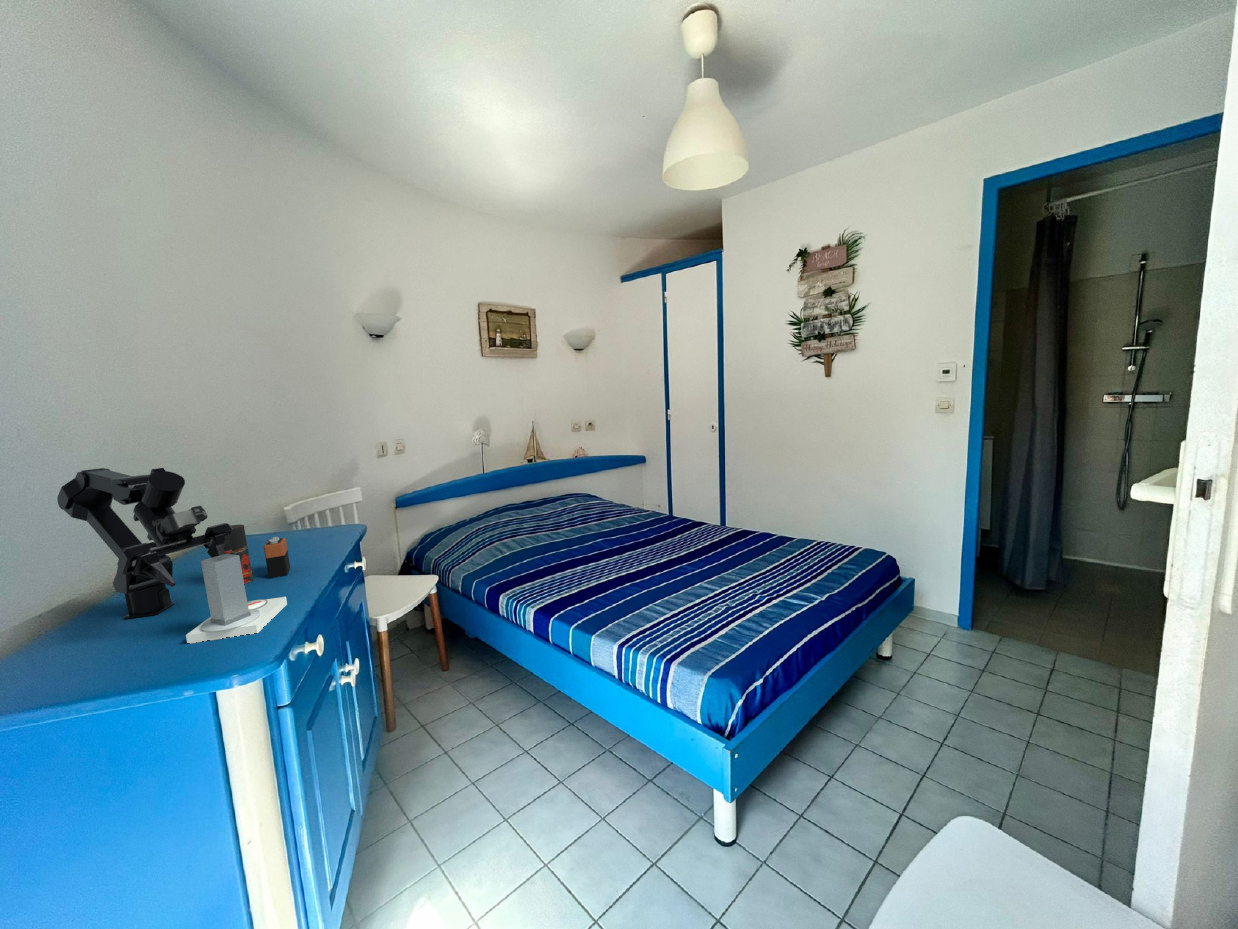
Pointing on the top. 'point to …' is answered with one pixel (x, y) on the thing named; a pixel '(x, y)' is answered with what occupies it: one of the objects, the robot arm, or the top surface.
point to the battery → (277, 557)
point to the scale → (239, 622)
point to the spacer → (225, 589)
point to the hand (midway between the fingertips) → (200, 576)
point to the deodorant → (240, 550)
